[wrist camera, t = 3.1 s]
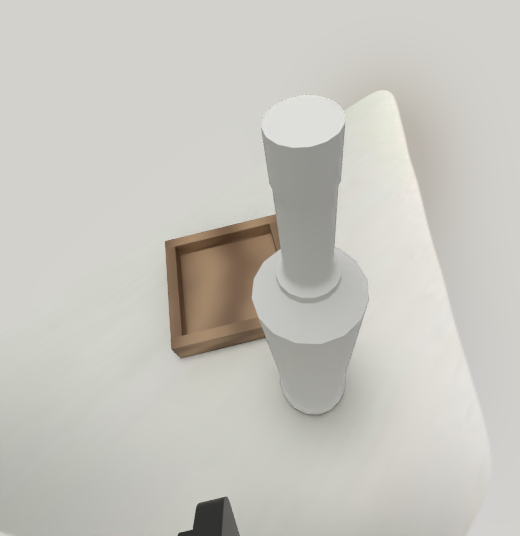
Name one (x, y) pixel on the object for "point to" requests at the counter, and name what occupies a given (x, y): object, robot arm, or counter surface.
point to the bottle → (308, 256)
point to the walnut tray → (217, 285)
